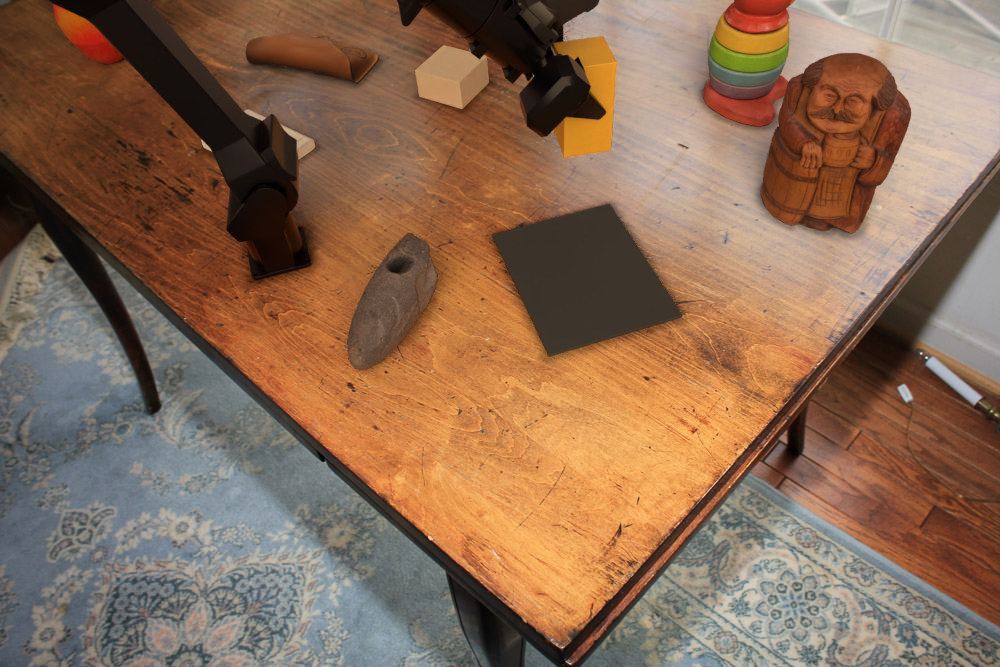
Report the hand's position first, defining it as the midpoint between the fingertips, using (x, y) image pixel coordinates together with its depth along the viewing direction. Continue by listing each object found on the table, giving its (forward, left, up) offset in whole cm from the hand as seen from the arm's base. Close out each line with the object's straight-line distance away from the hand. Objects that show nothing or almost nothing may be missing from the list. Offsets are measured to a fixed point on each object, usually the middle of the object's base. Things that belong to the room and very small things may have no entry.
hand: (596, 100), depth 74 cm
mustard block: (0, +1, -5) cm, 5 cm away
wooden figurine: (-10, -22, -14) cm, 28 cm away
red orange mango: (+58, +54, -14) cm, 81 cm away
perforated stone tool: (-10, +25, -14) cm, 30 cm away
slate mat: (-10, +5, -13) cm, 18 cm away
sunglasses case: (+44, +25, -14) cm, 52 cm away
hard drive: (+26, +35, -14) cm, 46 cm away
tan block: (+29, +8, -13) cm, 33 cm away
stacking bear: (+12, -26, -14) cm, 31 cm away
